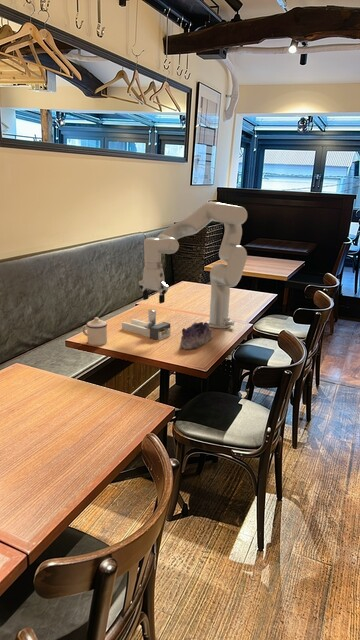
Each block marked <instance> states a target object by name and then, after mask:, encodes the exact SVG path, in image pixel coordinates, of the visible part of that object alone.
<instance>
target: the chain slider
mask: <svg viewBox="0 0 360 640" xmlns="http://www.w3.org/2000/svg"><path fill="white" fill-rule="evenodd" d="M147 313H148V316H147V318H148V319H147V320H148V325H147V326H144V328H148V329H150V327H152V326H154V325H157V310H156V309H153V308H152V309H148V312H147ZM159 332H162V333H164V332H165V330H163V329H162V330H159Z"/></svg>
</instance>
